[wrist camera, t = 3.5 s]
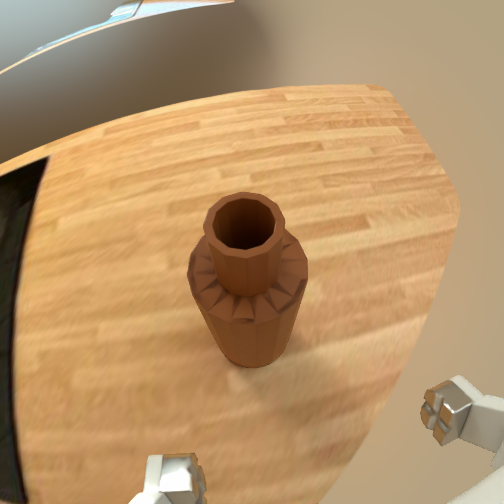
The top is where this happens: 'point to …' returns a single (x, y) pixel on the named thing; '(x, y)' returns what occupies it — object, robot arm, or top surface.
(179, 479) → the robot arm
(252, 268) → the vase
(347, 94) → the top surface
